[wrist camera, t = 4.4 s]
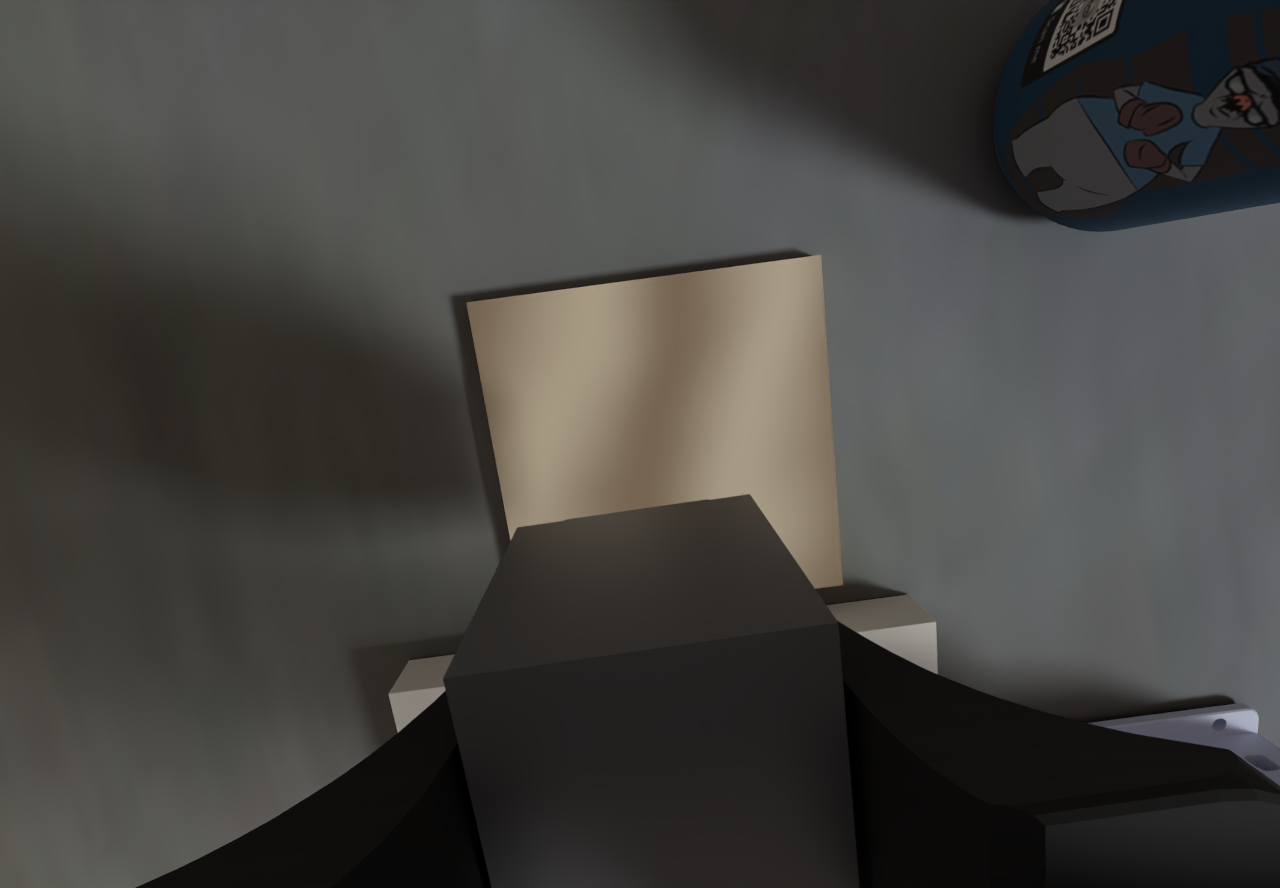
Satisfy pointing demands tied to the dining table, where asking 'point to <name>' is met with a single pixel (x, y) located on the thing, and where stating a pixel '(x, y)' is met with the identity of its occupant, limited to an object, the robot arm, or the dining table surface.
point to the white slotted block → (878, 620)
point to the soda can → (1142, 110)
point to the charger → (655, 708)
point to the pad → (667, 400)
